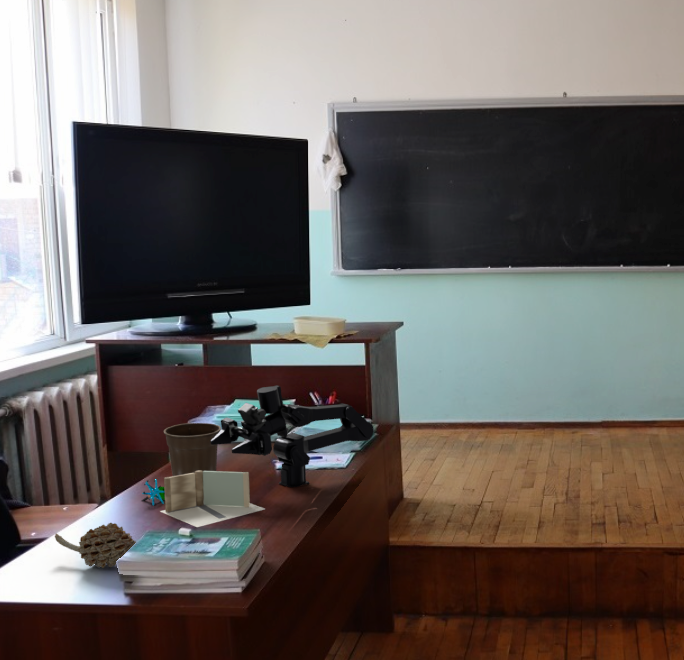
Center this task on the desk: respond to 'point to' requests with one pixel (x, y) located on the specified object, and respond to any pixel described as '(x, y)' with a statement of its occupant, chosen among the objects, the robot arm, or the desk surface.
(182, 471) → the plant pot
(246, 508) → the card
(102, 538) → the pine cone
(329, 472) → the desk surface
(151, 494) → the stick construction toy
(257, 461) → the desk surface
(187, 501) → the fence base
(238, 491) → the sage fence panel
